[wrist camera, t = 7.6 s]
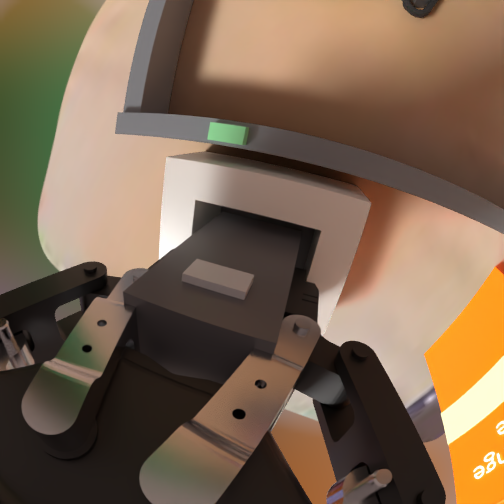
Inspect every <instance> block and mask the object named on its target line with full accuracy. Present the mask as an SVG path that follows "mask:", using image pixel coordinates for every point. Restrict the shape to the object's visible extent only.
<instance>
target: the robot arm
mask: <svg viewBox="0 0 504 504" xmlns="http://www.w3.org/2000/svg"><path fill="white" fill-rule="evenodd" d="M173 250H174V249H172V250H170V251H169V252H168V253H167V254H166V255H168V254H169V253H170V252H171V251H173ZM166 255H164V256H163V257H162V258H161V259H163V258H164V257H165V256H166ZM161 259H159V260H158V261H157V262H155V263H154V264H153V265H152V266H151V267H149V268H148V269H144V268H137V269H132V270H129V271H127V272H126V273H125V274H124V275H123V277H122V278H120V277H113V276H107V269H106V266H105V265H104V264H102V263H99V262H86V263H82V264H80V265H77V266H74V267H71V268H69V269H66V270H63V271H60V272H58V273H55V274H52V275H50V276H47V277H45V278H42V279H39V280H37V281H34V282H31V283H29V284H26V285H24V286H21V287H19V288H16V289H14V290H11V291H9V292H6V293H4V294H1V295H0V504H312V503H311V501H310V500H309V498H308V496H307V495H306V493H305V491H304V490H303V488H302V486H301V485H300V483H299V482H298V480H297V478H296V476H295V475H294V473H293V472H292V470H291V468H290V467H289V464H288V463H287V461H286V459H285V458H284V456H283V454H282V452H281V451H280V449H279V447H278V445H277V443H276V442H275V440H274V438H273V436H272V434H271V431H272V429H273V427H274V425H275V424H276V422H277V420H278V418H279V417H280V415H281V413H282V412H283V410H284V408H285V406H286V405H287V403H288V401H289V399H290V397H291V396H292V394H293V392H294V390H295V389H296V390H298V391H300V392H302V393H303V394H305V395H307V396H309V397H311V398H313V404H314V408H315V411H316V414H317V417H318V421H319V424H320V427H321V430H322V434H323V437H324V440H325V444H326V447H327V450H328V454H329V457H330V460H331V464H332V467H333V471H334V474H335V477H336V480H337V482H336V483H335V484H333V486H331V488H330V489H329V491H328V494H327V504H445V499H446V495H445V491H444V488H443V485H442V483H441V481H440V479H439V476H438V474H437V472H436V470H435V468H434V465H433V463H432V461H431V459H430V457H429V455H428V452H427V451H426V448H425V446H424V444H423V442H422V440H421V438H420V436H419V434H418V432H417V430H416V428H415V426H414V424H413V422H412V420H411V418H410V416H409V414H408V412H407V410H406V408H405V406H404V405H403V403H402V401H401V399H400V397H399V395H398V393H397V391H396V390H395V388H394V386H393V384H392V382H391V380H390V379H389V377H388V375H387V373H386V371H385V370H384V368H383V366H382V364H381V362H380V361H379V359H378V357H377V355H376V354H375V352H374V351H373V350H372V349H371V348H370V347H369V346H367V345H366V344H364V343H361V342H358V341H348V342H345V343H343V344H342V345H341V347H339V346H337V345H335V344H333V343H331V342H329V341H328V340H326V339H325V338H324V337H323V336H322V335H321V328H320V326H319V325H318V324H317V322H318V303H319V290H318V288H317V286H316V285H315V283H311V282H307V281H305V276H306V270H304V269H300V268H297V267H295V268H294V273H293V277H292V282H291V286H290V291H289V295H288V299H287V304H286V308H285V312H284V316H283V320H282V325H281V329H280V333H279V337H278V341H277V344H276V347H275V350H274V353H273V354H270V353H267V352H264V351H261V350H259V349H256V348H254V349H253V350H252V352H251V353H250V354H249V355H248V356H247V358H246V359H245V360H244V361H243V362H242V364H241V365H240V366H239V367H238V368H237V370H236V371H235V372H234V373H233V374H232V375H231V377H230V378H229V379H228V380H227V381H226V382H225V384H224V385H223V384H220V383H217V382H214V381H211V380H208V379H201V378H194V377H188V376H182V375H176V374H173V373H171V372H170V371H168V370H167V369H165V368H164V367H162V366H161V365H160V364H158V363H157V362H155V361H154V360H153V359H151V358H150V357H149V356H147V355H145V354H142V353H140V345H139V336H138V326H137V315H136V307H135V306H132V305H129V304H125V303H124V298H123V291H124V290H126V289H127V288H128V287H129V286H130V285H131V284H133V283H134V282H135V281H136V280H137V279H138V278H140V277H141V276H142V275H143V274H144V273H146V272H147V271H148V270H149V269H150V268H152V267H153V266H154V265H155V264H157V263H158V262H159V261H160V260H161ZM77 298H79V299H80V305H81V311H79V312H77V313H74V314H72V315H70V316H68V317H66V318H63V319H61V320H59V321H57V322H56V319H55V311H56V309H57V308H58V307H59V306H61V305H63V304H65V303H68V302H70V301H73V300H75V299H77ZM52 359H53V360H52Z"/></svg>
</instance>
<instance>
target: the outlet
mask: <svg viewBox="0 0 504 504" xmlns="http://www.w3.org/2000/svg"><path fill="white" fill-rule="evenodd" d="M370 207H371V202H370V201H369V199H368V198H367V197H366V196H365V195H364V193H363V192H362V191H361V190H360V189H359V188H358V186H356V185H352V184H349V183H345V182H342V181H338V180H335V179H331V178H327V177H324V176H320V175H316V174H312V173H308V172H304V171H300V170H296V169H292V168H287V167H283V166H279V165H274V164H269V163H265V162H260V161H255V160H250V159H245V158H240V157H234V156H229V155H223V154H217V153H211V152H205V151H204V152H196V153H189V154H182V155H176V156H169V157H166V165H165V175H164V185H163V196H162V209H161V225H160V246H159V259H161V258H162V257H163V256H164V255H166V254H167V253H168V252H169V251H170V250H172V249H175V248H176V247H177V246H179V245H180V244H181V243H183V242H184V241H185V240H186V239H188V238H189V237H190V236H191V235H193V234H194V233H195V232H196V231H198V230H199V229H200V228H202V227H203V226H204V225H205V224H207V223H208V222H209V221H211V220H212V219H213V218H215V217H216V216H217V215H219V214H220V213H221V212H227V213H231V214H236V215H240V216H244V217H248V218H252V219H256V220H260V221H264V222H268V223H272V224H276V225H280V226H284V227H288V228H292V229H295V230H299V231H302V235H301V239H300V244H299V249H298V254H297V259H296V263H295V267H297V268H300V269H304V270H306V276H305V281H307V282H311V283H315V285H316V286H317V288H318V290H319V303H318V322H317V324H318V325H319V326H320V328H321V335H322V336H323V335H324V333H325V331H326V328H327V326H328V324H329V321H330V319H331V317H332V314H333V312H334V309H335V307H336V304H337V302H338V299H339V297H340V294H341V292H342V289H343V287H344V284H345V281H346V279H347V276H348V273H349V270H350V268H351V265H352V262H353V259H354V256H355V254H356V251H357V248H358V245H359V242H360V239H361V236H362V233H363V230H364V226H365V223H366V220H367V217H368V213H369V210H370Z"/></svg>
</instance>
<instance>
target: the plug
mask: <svg viewBox="0 0 504 504" xmlns="http://www.w3.org/2000/svg"><path fill="white" fill-rule="evenodd" d="M301 235H302V231H299V230H295V229H292V228H288V227H284V226H280V225H276V224H272V223H268V222H264V221H260V220H256V219H252V218H248V217H244V216H240V215H236V214H231V213H227V212H221V213H220V214H219V215H217V216H216V217H215V218H213V219H212V220H211V221H209V222H208V223H207V224H205V225H204V226H203V227H202V228H200V229H199V230H198V231H196V232H195V233H194V234H193V235H191V236H190V237H189V238H188V239H186V240H185V241H184V242H183V243H181V244H180V245H179V246H177V247H176V248H175V249H174V250H173V251H171V252H170V253H169V254H168V255H166V256H165V257H164V258H163V259H161V260H160V261H159V262H158V263H157V264H155V265H154V266H153V267H152V268H150V269H149V270H148V271H147V272H146V273H144V274H143V275H142V276H141V277H140V278H138V279H137V280H136V281H135V282H134V283H133V284H131V285H130V286H129V287H128V288H127V289H126V290H124V291H123V298H124V303H125V304H129V305H132V306H135V307H136V315H137V326H138V336H139V345H140V353H142V354H145V355H147V356H149V357H150V358H151V359H153V360H154V361H155V362H157V363H158V364H160V365H161V366H162V367H164V368H165V369H167V370H168V371H170V372H171V373H173V374H176V375H182V376H188V377H194V378H201V379H208V380H211V381H214V382H217V383H220V384H223V385H224V384H225V382H226V381H227V380H228V379H229V378H230V377H231V375H232V374H233V373H234V372H235V371H236V370H237V368H238V367H239V366H240V365H241V364H242V362H243V361H244V360H245V359H246V358H247V356H248V355H249V354H250V353H251V352H252V350H253V349H254V348H256V349H259V350H261V351H264V352H267V353H270V354H273V353H274V350H275V347H276V344H277V341H278V337H279V333H280V329H281V325H282V320H283V316H284V312H285V308H286V304H287V299H288V295H289V291H290V286H291V282H292V277H293V273H294V268H295V263H296V259H297V254H298V249H299V244H300V239H301Z"/></svg>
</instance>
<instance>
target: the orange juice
mask: <svg viewBox="0 0 504 504" xmlns="http://www.w3.org/2000/svg"><path fill="white" fill-rule="evenodd" d="M424 355H425V358H426V361H427V364H428V367H429V370H430V373H431V377H432V380H433V383H434V387H435V390H436V394H437V397H438V401H439V405H440V408H441V412H442V413H441V416H442V420H443V424H444V429H445V433H446V437H447V443H448V445H449V449H450V454H451V460H452V466H453V473H454V480H455V488H456V499H457V504H504V275H503V274H502V273H501V272H500V271H499V270H498V269H497V268H496V267H495V268H494V269H493V271H492V272H491V274H490V275H489V277H488V278H487V279H486V281H485V282H484V284H483V285H482V286H481V288H480V289H479V291H478V292H477V293H476V295H475V296H474V297H473V299H472V300H471V301H470V303H469V304H468V305H467V306H466V308H465V309H464V310H463V311H462V313H461V314H460V315H459V316H458V317H457V319H456V320H455V321H454V322H453V323H452V325H451V326H450V327H449V328H448V329H447V330H446V331H445V332H444V334H443V335H442V336H441V337H440V338H439V339H438V340H437V341H436V342H435V343H434V344H433V345H432V347H431V348H430V349H429V350H428V351H427V352H426V353H425V354H424Z"/></svg>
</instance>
